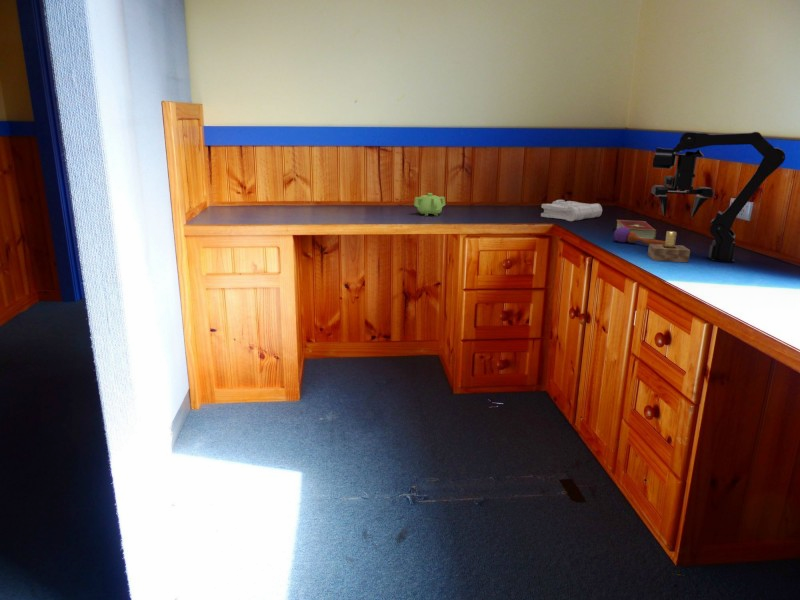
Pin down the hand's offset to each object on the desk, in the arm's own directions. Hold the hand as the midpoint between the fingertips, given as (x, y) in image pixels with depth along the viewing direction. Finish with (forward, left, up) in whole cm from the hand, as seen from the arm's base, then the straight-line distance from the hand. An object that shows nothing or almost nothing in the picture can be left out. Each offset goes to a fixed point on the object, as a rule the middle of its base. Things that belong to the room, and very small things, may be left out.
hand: (678, 216), depth 211 cm
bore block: (+4, +9, -13) cm, 16 cm away
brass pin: (+4, +9, -12) cm, 15 cm away
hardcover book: (+5, -38, -14) cm, 41 cm away
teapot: (+91, -60, -13) cm, 110 cm away
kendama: (+8, -13, -14) cm, 20 cm away
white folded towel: (+24, -76, -14) cm, 81 cm away
